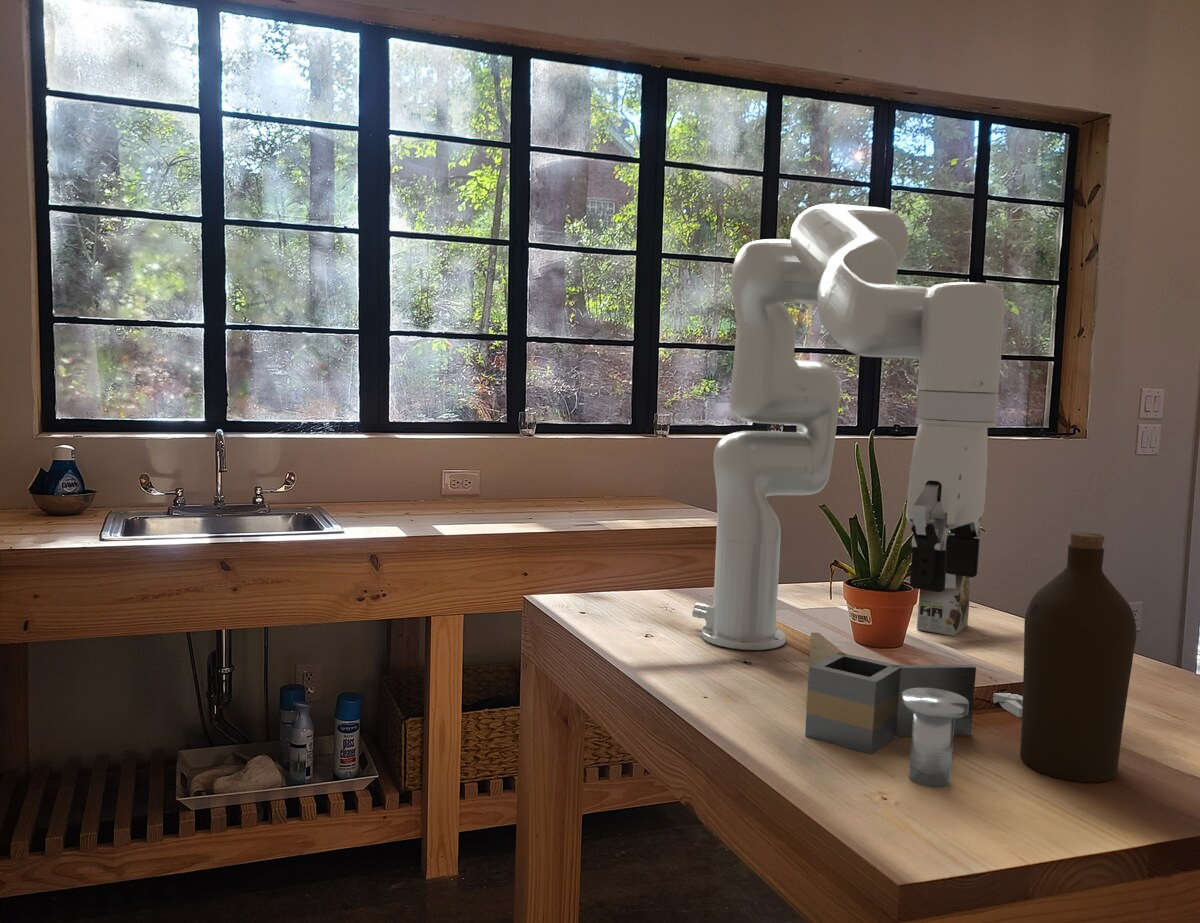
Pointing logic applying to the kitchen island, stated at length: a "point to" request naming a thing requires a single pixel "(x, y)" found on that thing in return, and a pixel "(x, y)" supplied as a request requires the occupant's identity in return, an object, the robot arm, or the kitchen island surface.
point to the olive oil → (1076, 669)
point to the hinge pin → (932, 733)
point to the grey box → (872, 696)
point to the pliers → (1010, 702)
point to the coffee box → (945, 606)
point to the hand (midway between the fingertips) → (944, 582)
